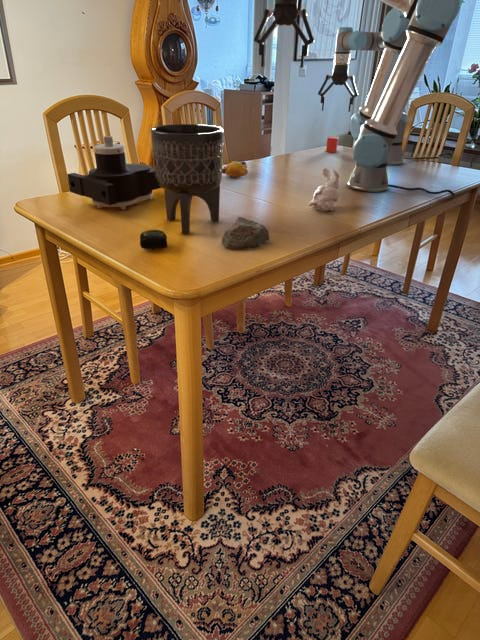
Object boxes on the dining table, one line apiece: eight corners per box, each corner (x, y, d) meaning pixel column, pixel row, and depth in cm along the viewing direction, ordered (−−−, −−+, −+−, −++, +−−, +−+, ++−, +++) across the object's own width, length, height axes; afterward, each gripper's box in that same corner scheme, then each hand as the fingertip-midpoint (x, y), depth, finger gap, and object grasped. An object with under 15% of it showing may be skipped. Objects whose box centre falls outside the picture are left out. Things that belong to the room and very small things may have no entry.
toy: (216, 169, 183) (223, 161, 196) (222, 185, 186) (228, 175, 199) (242, 161, 180) (247, 153, 193) (247, 176, 183) (252, 167, 196)
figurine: (343, 205, 155) (348, 167, 148) (324, 216, 144) (329, 175, 137) (322, 201, 158) (326, 164, 152) (302, 211, 148) (305, 171, 141)
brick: (326, 150, 249) (328, 136, 245) (336, 150, 248) (338, 137, 244) (325, 151, 244) (327, 137, 240) (335, 152, 243) (337, 138, 239)
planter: (143, 226, 132) (134, 128, 119) (187, 210, 146) (183, 122, 133) (195, 240, 123) (191, 136, 109) (236, 222, 137) (238, 128, 123)
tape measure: (140, 252, 115) (139, 238, 113) (141, 242, 120) (140, 229, 119) (167, 251, 116) (166, 237, 114) (167, 241, 121) (166, 228, 120)
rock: (255, 233, 128) (256, 211, 124) (276, 242, 122) (278, 219, 119) (217, 244, 120) (217, 220, 117) (239, 254, 115) (239, 230, 111)
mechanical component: (60, 135, 140) (138, 127, 160) (72, 203, 151) (143, 187, 171) (101, 144, 128) (180, 134, 148) (111, 217, 139) (183, 198, 159)
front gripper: (246, -10, 144) (244, 66, 155) (324, -11, 139) (317, 68, 150) (251, -8, 151) (249, 65, 161) (327, -8, 145) (320, 67, 156)
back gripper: (315, 63, 225) (311, 110, 235) (366, 64, 219) (360, 112, 230) (317, 63, 231) (312, 109, 242) (367, 64, 225) (360, 111, 236)
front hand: (282, 67), depth 156 cm, fingers open, 13 cm apart
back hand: (335, 111), depth 236 cm, fingers open, 13 cm apart
